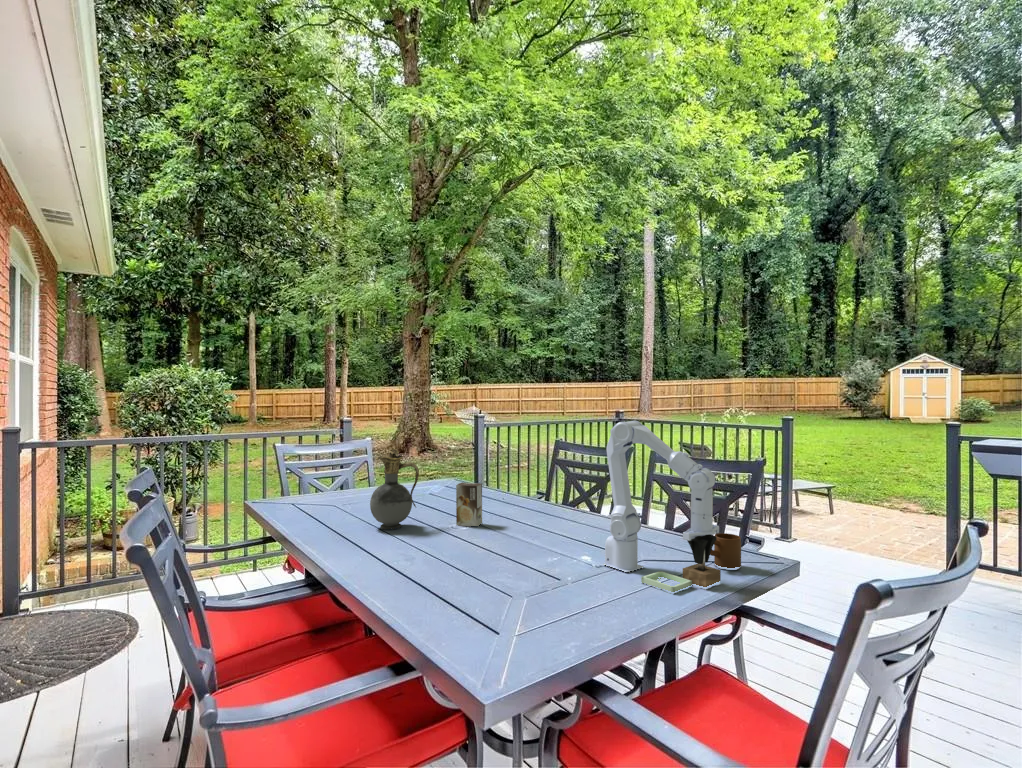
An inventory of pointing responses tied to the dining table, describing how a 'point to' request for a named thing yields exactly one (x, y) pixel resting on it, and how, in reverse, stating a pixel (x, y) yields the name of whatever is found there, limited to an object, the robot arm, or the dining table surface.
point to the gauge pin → (702, 565)
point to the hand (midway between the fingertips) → (701, 562)
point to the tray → (653, 581)
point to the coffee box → (468, 504)
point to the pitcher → (392, 493)
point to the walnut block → (702, 575)
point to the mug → (727, 550)
